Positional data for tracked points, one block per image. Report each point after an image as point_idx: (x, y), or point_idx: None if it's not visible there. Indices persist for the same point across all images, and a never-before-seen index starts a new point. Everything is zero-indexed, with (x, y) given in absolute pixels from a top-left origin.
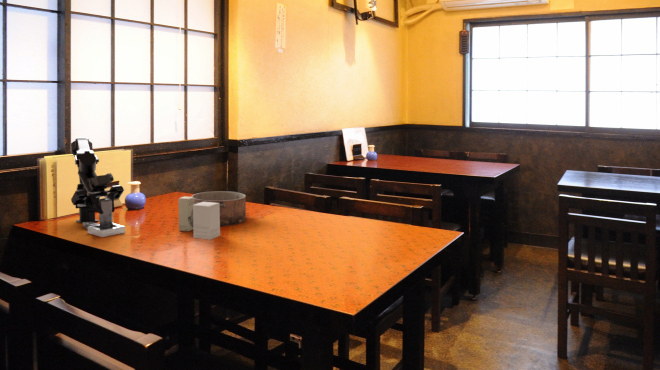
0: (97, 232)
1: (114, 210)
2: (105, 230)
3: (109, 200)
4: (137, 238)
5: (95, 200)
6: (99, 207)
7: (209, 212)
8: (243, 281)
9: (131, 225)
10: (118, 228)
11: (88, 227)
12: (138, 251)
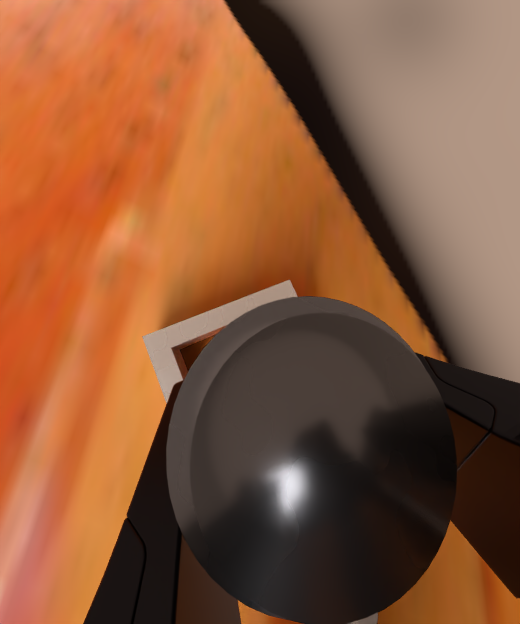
0: None
1: (175, 383)
2: (267, 289)
3: (239, 346)
4: (131, 197)
5: (516, 421)
6: None
7: None
8: None
9: (54, 545)
10: (188, 320)
11: None
12: (186, 32)
